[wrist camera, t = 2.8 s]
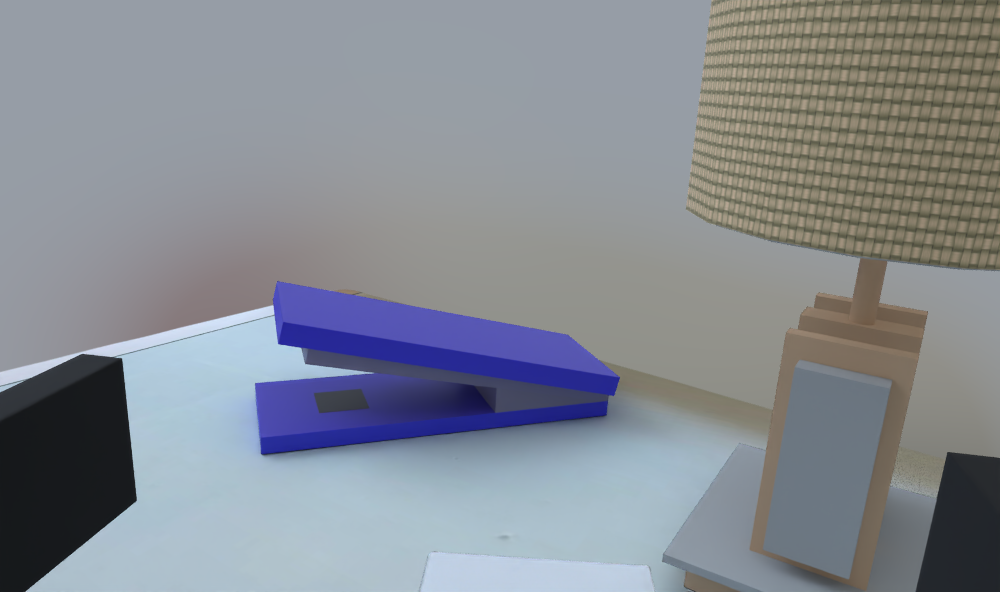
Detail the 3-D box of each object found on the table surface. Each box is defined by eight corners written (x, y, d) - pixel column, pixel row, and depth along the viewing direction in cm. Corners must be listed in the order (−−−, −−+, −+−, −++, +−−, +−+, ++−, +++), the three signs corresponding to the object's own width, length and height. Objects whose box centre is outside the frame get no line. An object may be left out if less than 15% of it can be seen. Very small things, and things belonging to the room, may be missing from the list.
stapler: (255, 394, 62) (250, 281, 59) (561, 368, 71) (569, 269, 68) (261, 460, 51) (256, 327, 49) (618, 419, 61) (630, 305, 58)
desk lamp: (1022, 769, 31) (1334, -208, 21) (592, 587, 40) (666, -139, 30) (1004, 540, 47) (1175, -71, 37) (700, 450, 56) (771, -54, 47)
